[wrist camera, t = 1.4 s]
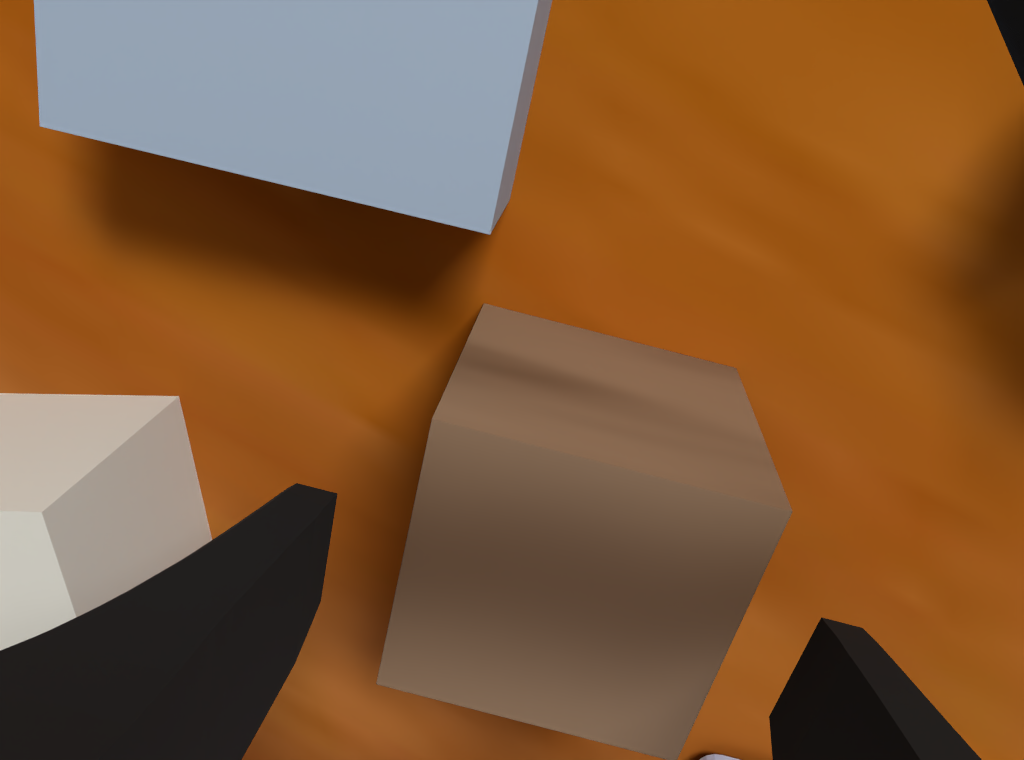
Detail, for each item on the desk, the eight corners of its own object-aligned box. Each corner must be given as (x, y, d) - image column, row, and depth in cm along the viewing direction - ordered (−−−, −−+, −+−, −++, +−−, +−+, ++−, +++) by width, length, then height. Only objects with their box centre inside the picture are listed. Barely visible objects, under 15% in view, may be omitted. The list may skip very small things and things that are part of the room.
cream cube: (220, 566, 18) (109, 718, 14) (45, 558, 19) (-110, 703, 15) (180, 394, 17) (41, 512, 12) (-12, 391, 17) (-206, 503, 13)
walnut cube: (657, 568, 17) (675, 762, 12) (437, 511, 17) (375, 684, 13) (735, 366, 15) (792, 511, 10) (484, 302, 15) (431, 418, 10)
